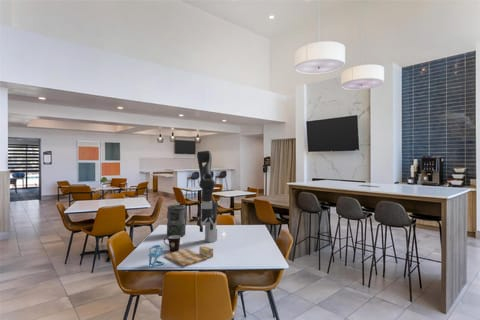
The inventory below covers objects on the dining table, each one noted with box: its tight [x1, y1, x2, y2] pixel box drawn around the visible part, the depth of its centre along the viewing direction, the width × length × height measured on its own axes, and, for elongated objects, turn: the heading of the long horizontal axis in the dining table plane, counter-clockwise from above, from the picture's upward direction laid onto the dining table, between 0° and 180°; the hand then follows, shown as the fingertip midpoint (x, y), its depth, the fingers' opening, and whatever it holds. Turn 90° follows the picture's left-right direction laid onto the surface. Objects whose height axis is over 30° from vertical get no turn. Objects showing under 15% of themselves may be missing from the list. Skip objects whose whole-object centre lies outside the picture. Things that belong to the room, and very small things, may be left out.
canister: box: [166, 202, 187, 238], centre depth 236 cm, size 16×16×28 cm
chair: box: [147, 244, 166, 268], centre depth 170 cm, size 8×8×12 cm
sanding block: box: [198, 245, 214, 260], centre depth 187 cm, size 5×9×6 cm, turn 45°
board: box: [163, 248, 208, 268], centre depth 182 cm, size 18×24×2 cm
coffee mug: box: [163, 235, 181, 253], centre depth 198 cm, size 12×9×10 cm
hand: (206, 230), depth 187 cm, fingers open, 8 cm apart
